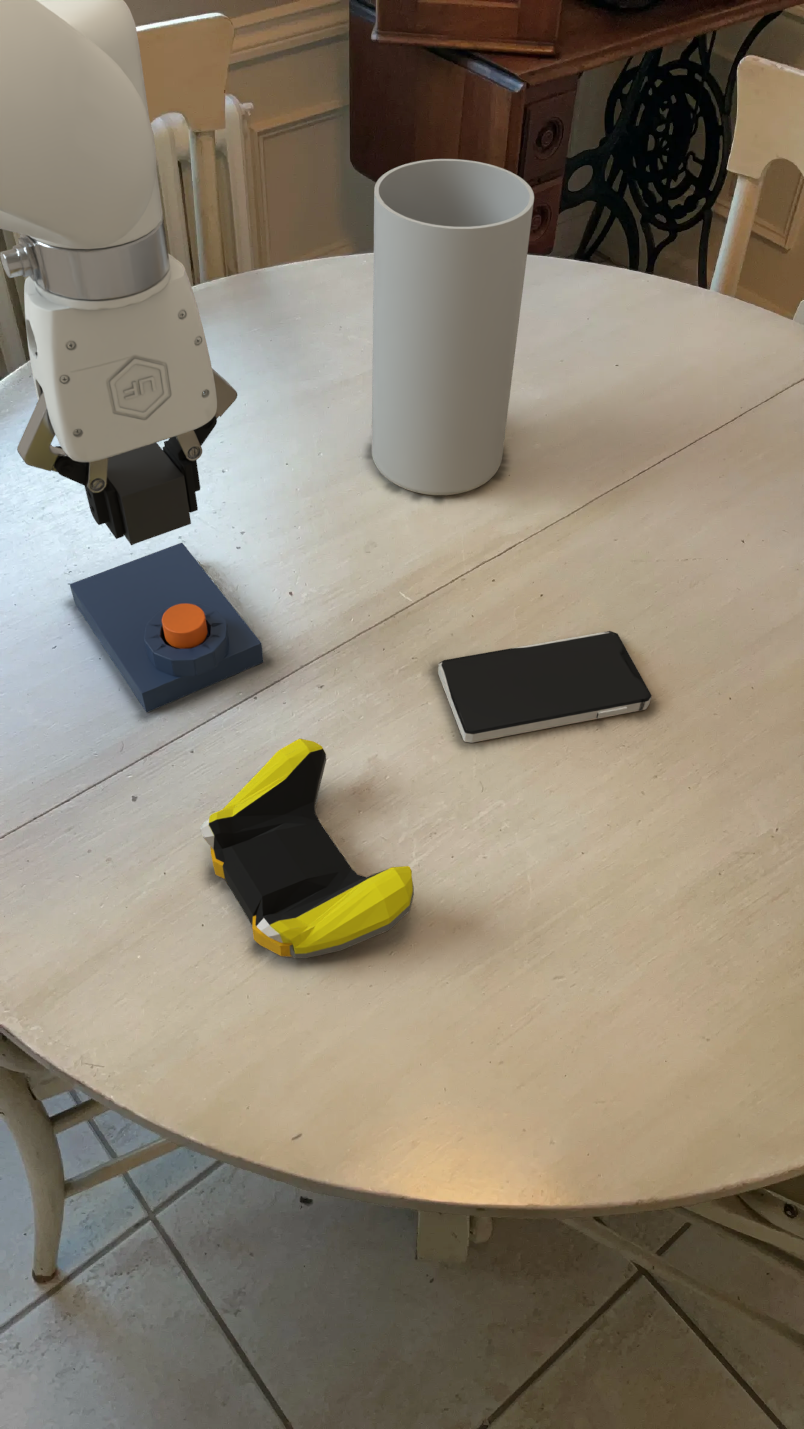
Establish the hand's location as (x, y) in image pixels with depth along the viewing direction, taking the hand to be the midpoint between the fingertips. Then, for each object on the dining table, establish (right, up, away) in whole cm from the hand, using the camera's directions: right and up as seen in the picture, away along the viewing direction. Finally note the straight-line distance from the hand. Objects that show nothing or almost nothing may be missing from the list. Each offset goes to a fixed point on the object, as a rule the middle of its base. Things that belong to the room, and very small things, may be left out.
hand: (148, 511), depth 72 cm
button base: (-2, -7, +13) cm, 15 cm away
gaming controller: (+11, -25, -2) cm, 27 cm away
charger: (0, 0, 0) cm, 0 cm away
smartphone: (+28, -12, +10) cm, 32 cm away
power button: (+1, -8, +8) cm, 11 cm away
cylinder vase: (+21, +11, +29) cm, 38 cm away
